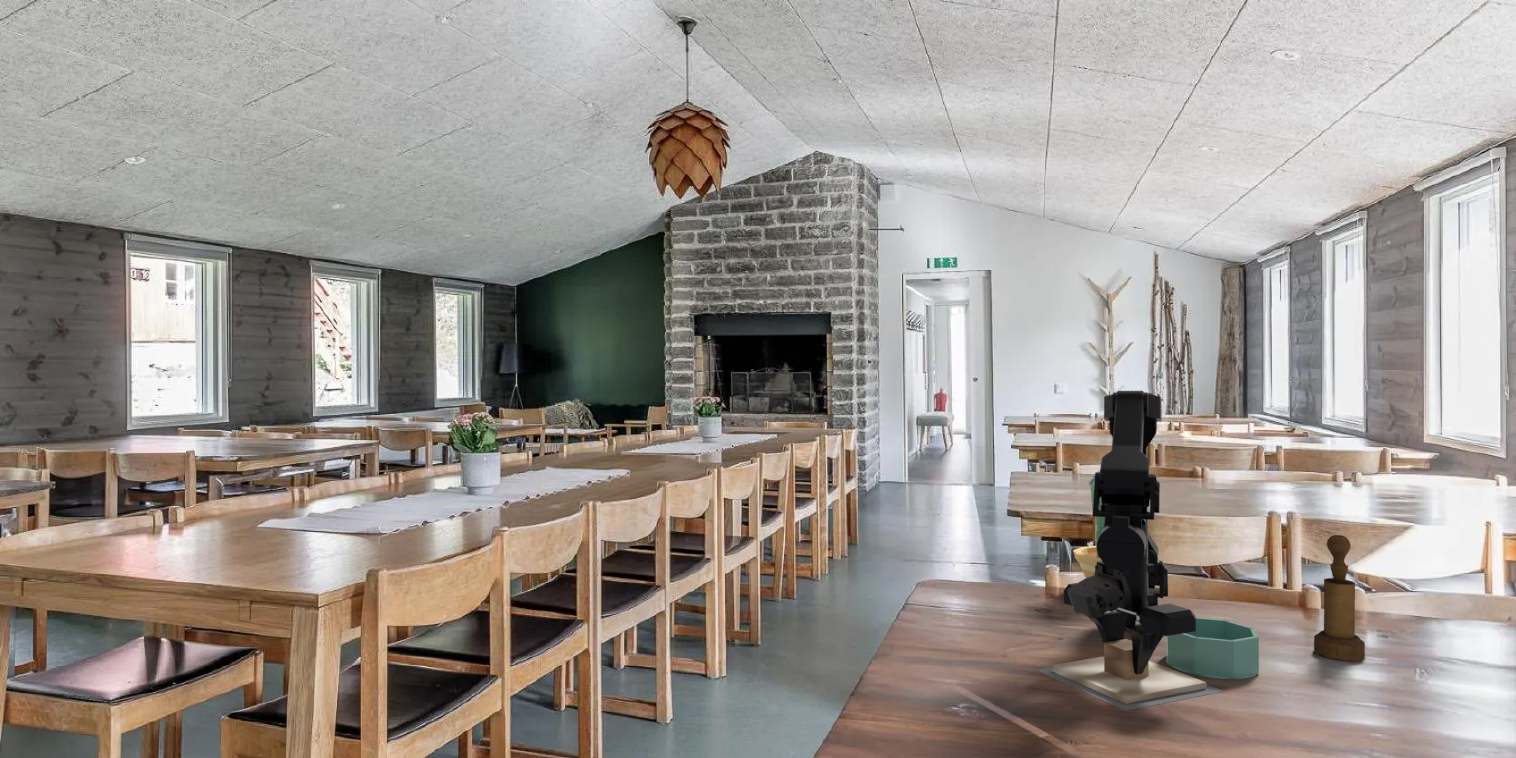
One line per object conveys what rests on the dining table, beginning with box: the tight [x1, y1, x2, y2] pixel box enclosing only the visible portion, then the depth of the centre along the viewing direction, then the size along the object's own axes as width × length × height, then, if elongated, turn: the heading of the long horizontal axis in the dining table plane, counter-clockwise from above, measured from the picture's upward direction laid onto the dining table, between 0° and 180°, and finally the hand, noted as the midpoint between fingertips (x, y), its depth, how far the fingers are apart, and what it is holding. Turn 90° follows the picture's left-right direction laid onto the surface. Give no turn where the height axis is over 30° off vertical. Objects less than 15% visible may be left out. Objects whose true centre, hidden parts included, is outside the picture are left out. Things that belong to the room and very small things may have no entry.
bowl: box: [1165, 616, 1260, 680], centre depth 130 cm, size 12×12×6 cm
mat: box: [1035, 666, 1225, 712], centre depth 124 cm, size 17×17×1 cm
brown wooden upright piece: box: [1313, 534, 1366, 662], centre depth 136 cm, size 7×6×18 cm
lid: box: [1050, 638, 1207, 704], centre depth 124 cm, size 14×14×5 cm
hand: (1126, 669), depth 124 cm, fingers closed on lid, 4 cm apart
